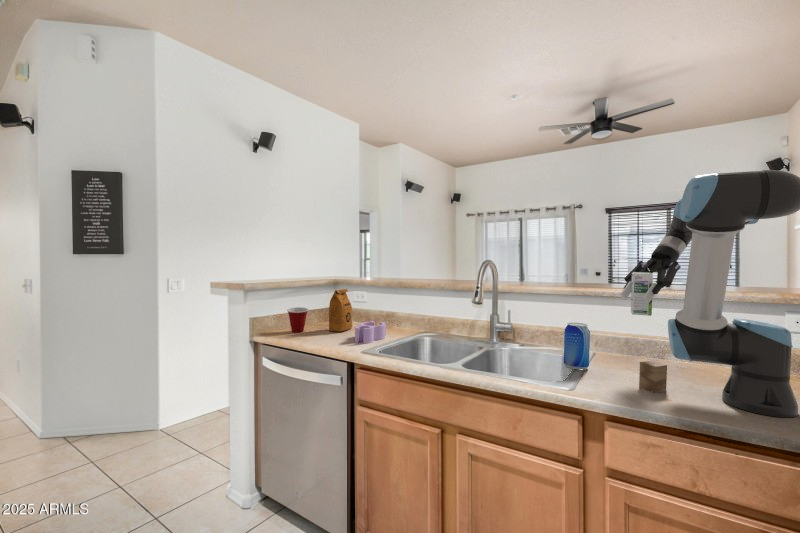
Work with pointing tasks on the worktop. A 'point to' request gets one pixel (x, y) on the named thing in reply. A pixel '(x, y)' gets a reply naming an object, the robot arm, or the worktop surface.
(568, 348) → the blue canister
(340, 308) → the coffee package
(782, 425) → the worktop surface
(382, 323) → the clip
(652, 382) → the walnut block
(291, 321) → the plastic cup
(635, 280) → the syrup box
